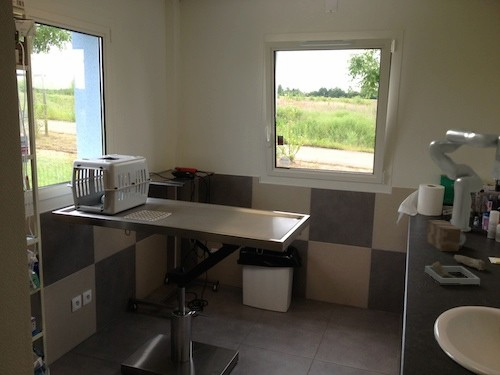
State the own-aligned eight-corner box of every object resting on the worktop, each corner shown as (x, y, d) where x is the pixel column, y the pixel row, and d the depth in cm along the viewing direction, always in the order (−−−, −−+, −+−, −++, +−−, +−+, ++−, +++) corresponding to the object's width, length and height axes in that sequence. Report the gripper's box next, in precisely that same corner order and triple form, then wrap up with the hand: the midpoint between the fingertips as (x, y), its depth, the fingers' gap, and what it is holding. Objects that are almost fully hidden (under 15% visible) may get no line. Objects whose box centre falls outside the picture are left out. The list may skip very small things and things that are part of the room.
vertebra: (456, 285, 188) (444, 263, 188) (437, 291, 191) (426, 270, 192) (457, 275, 198) (446, 254, 198) (439, 281, 202) (428, 260, 202)
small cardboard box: (426, 240, 249) (428, 220, 246) (449, 240, 250) (452, 220, 248) (441, 251, 232) (443, 229, 230) (466, 251, 233) (469, 229, 231)
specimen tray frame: (424, 272, 202) (425, 265, 201) (460, 272, 203) (461, 266, 202) (440, 285, 187) (441, 278, 187) (479, 285, 189) (480, 278, 188)
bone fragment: (487, 269, 209) (488, 259, 208) (479, 272, 205) (480, 262, 204) (459, 260, 220) (460, 251, 219) (451, 263, 216) (452, 253, 215)
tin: (463, 245, 242) (466, 230, 241) (466, 247, 239) (468, 232, 238) (435, 244, 242) (437, 229, 241) (438, 246, 239) (439, 231, 237)
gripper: (488, 156, 255) (483, 188, 258) (504, 160, 240) (500, 194, 243) (501, 156, 255) (496, 189, 259) (518, 160, 241) (513, 194, 244)
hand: (498, 191), depth 251 cm, fingers closed
